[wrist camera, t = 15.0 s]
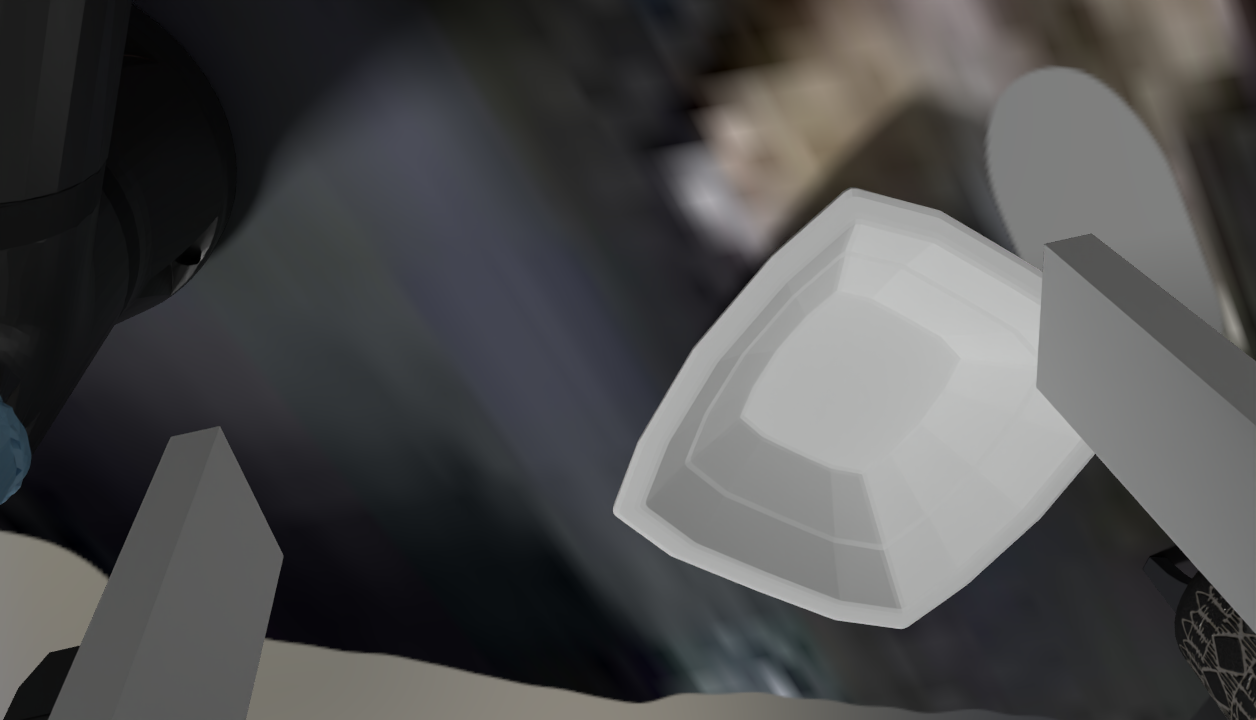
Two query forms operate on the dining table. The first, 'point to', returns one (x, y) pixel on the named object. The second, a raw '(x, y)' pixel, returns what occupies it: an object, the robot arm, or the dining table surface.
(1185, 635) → the planter
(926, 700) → the dining table surface
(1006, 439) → the bowl
